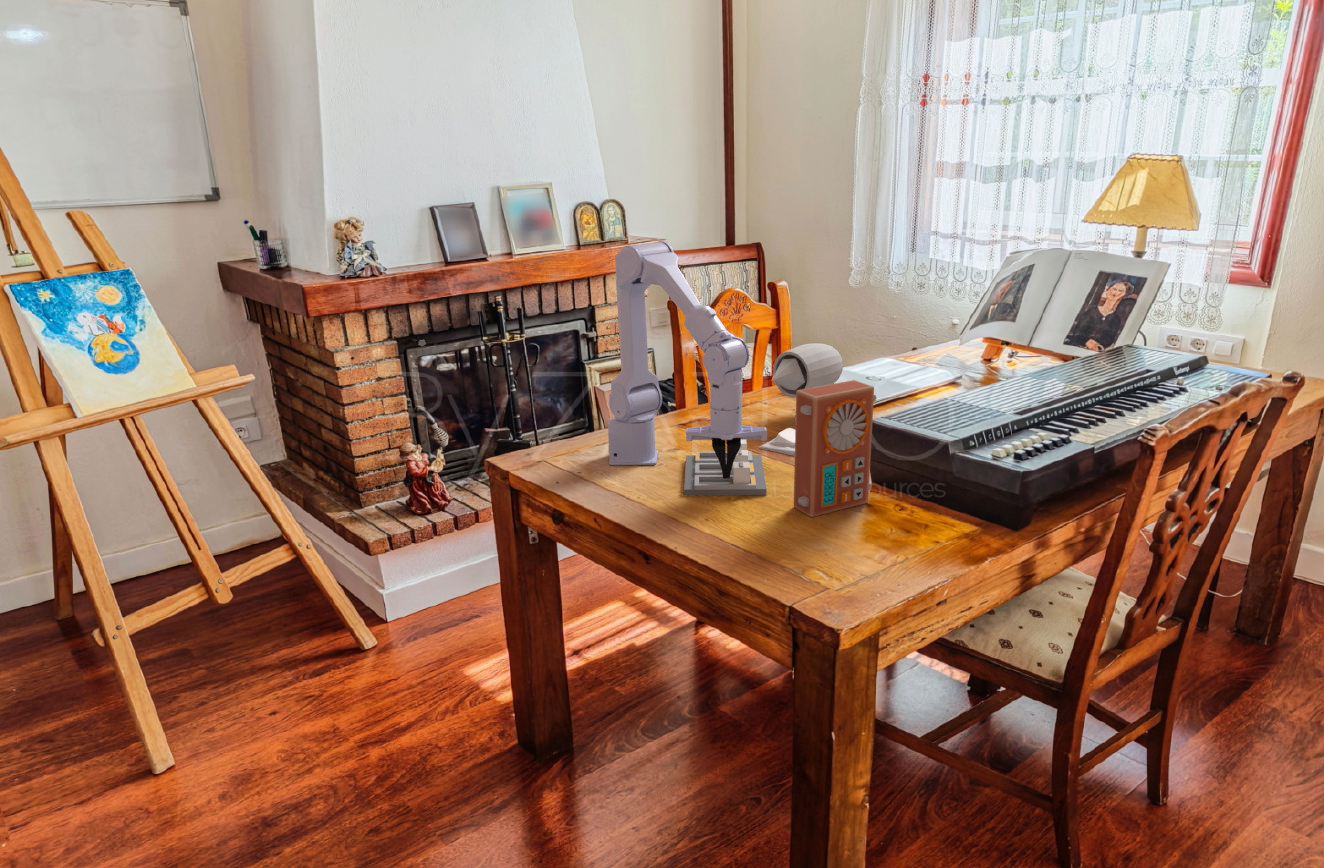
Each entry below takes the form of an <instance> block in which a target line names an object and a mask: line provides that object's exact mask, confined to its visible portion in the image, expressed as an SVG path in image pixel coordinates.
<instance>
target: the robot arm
mask: <svg viewBox="0 0 1324 868" xmlns="http://www.w3.org/2000/svg"><path fill="white" fill-rule="evenodd" d="M614 262H615V278H616V279H615V282H616V283H615V286H616V288H615V289H616V306H617V320H618V336H619V353H620V368H621V369H620V370H621V371H620V372H619V373H618V374H617V375H616V376H615V378H613V380H612V381H611V383H610V393H609V396H608V405H609V410H610V412H611V413H612V415H613V416H614V417H609V418H608V424H607V425H608V427H607V430H608V431H607V434H608V435H607V437H608V453H609V454H608V456H609V459H608V460H609V462H608V463H609V465H610V466H630V465H631V466H633V465H635V466H650V465H651V466H652V465H653V466H654V465H657V463H658V455H659V450H658V449H656V435H655V417H656V416H657V415H658V414H657V413H658V410H660V409H661V407H662V405H663V404H662V403H663V394H662V390H661V388H660V385H659V378H658V376H657V375H656V374H654V373H653V372H652V371H651V370H649V367H650V366H649V352H648V351H649V350H648V334H647V333H648V331H647V311H646V310H647V309H646V296H645V295H646V293H645V292H646V290H647V289H648V288H650V286H651V285H653V286H660V287H661V288H662V289H663V291H664V293H666V295H668V297H669V298H670V300H672V301H673V303H674V304H675V306H676V307H678V309H679V310H680V311H681V312H682V313H683V315H684V321H683V323H684V324H683V325H684V327H685V328H686V330H687V331H688V333H689V334H690V336H691V337H692V338H693V340H694V342H695V343H696V344H697V345H698V347H699V349H700V350H701V352H702V353H703V354H704V356H702V358H701V359H702V363H703V367H704V368H705V370H706V373H707V380H708V383H709V395H710V396H709V397H710V398H709V399H710V400H709V401H710V403H709V404H710V405H709V406H710V407H709V409H710V410H709V411H710V414H709V419H710V421H709V422H710V423H709V424H710V425H707V426H706V425H704V426H699V427H698V426H697V427H686V429H685V435H686V436H685V437H686V439H685V441H686V442H692V441H711V447H712V450H713V451H715V453H716V455H717V457H718V460H719V463H720V465H721V469H722V474H723V478H730V473H731V469H732V465H733V462H734V460H735V457H736V455H737V453H738V451H739V449H740V447H741V440H744V439H746V440H760V441H762V442H763V441H767V439H768V430H767V427H765V426H763V427H762V426H751V425H743V369H744V368H745V367H746V366H747V365H748V363H749V361H750V351H749V347H748V346H747V344H746V342H745V340H744V339H743V338H741V337H738V336H735V335H734V333H731V332H729V331H728V329H727V328H726V327H725V325H724V324H723V323H722V321H721V320H720V318H719V317H718V316H717V312H716V310H715V309H714V308H712V307H711V306H709V305H704V304H701V302H700V301H699V300H698V298H697V296H696V294H695V293H694V291H693V289H692V288H691V286H690V284H689V282H688V281H687V279H686V278H685V276H684V275H683V273H682V271H681V270H680V268H679V256H678V254H677V253H676V252H675V251H674V249H673V247H672V245H670V244H669V243H668V242H667V241H664V240H660V241H656V242H651V243H644V244H636V245H634V244H633V245H630V244H629V245H624V246H623V247H621V249H620V250H619V251H618V252H617V254H616V255H615V256H614ZM726 451H727V462H726Z"/></svg>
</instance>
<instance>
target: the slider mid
mask: <svg viewBox="0 0 1324 868" xmlns="http://www.w3.org/2000/svg"><path fill="white" fill-rule="evenodd" d="M748 451H749V450H748V449H747V450H741V449H739V451H738V453H737V455H736V457H735V460H734V462H740V461H743V462H748ZM732 471H733V465H732Z"/></svg>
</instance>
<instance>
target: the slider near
mask: <svg viewBox="0 0 1324 868" xmlns="http://www.w3.org/2000/svg"><path fill="white" fill-rule="evenodd" d="M733 484H750V463H749V462H743V461H740V462H733Z"/></svg>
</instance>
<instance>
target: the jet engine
mask: <svg viewBox="0 0 1324 868" xmlns="http://www.w3.org/2000/svg"><path fill="white" fill-rule="evenodd" d="M843 363H844V362H843V358H842V356H841V354H840V353H839V351H838V350H837V348H836V349H835V347H834V346H831V345H829V344H825V343H819V342H818V343H814V342H813V343H805V344H802V345H801V344H800V345H798V346H796V347H793V348H791V349H788V350H786V351H784V352H782V353H780V354H779V355H778V356H777V357H776V358H775V361H774V363H773V368H772V375H773V377H772V379H771V380H770V381H771V382H773V383H775V385H776V387H777V388H778V390H779V391H780V392H781V394H784V396H786V397H788V398H794V399H796V391H797V390H802V389H808V388H813V387H819V386H824V385H830V384H835V383H837V381H838V380H839V379H840V377H841V375H842V373H843V368H844V364H843Z"/></svg>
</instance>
